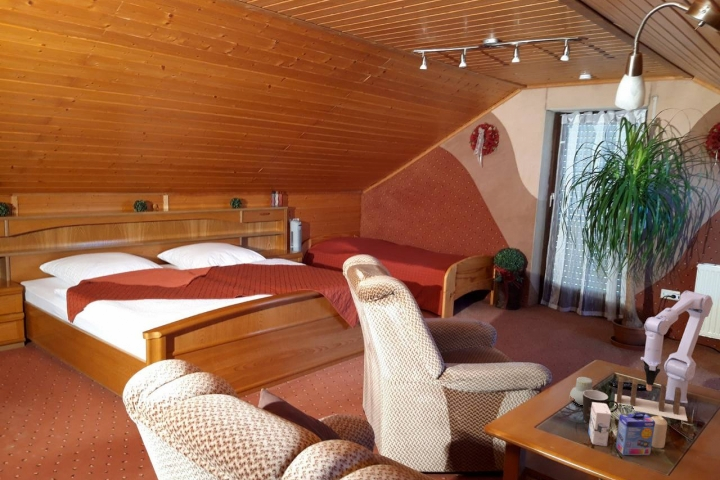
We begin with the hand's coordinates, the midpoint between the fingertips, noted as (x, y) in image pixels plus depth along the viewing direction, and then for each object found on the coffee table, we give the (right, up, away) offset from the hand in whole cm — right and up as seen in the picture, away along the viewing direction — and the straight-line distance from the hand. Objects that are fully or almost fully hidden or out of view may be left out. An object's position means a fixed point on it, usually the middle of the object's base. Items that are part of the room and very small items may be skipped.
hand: (649, 381), depth 223 cm
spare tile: (0, -3, 0) cm, 3 cm away
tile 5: (-9, -9, +6) cm, 14 cm away
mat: (+1, -10, +1) cm, 10 cm away
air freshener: (-25, -10, +3) cm, 27 cm away
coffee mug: (-25, -12, -12) cm, 31 cm away
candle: (-12, -15, -27) cm, 33 cm away
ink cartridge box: (-22, -15, -32) cm, 42 cm away
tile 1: (+9, -11, -2) cm, 14 cm away
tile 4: (-5, -9, +4) cm, 11 cm away
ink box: (-30, -14, -25) cm, 42 cm away
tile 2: (+4, -10, 0) cm, 11 cm away
